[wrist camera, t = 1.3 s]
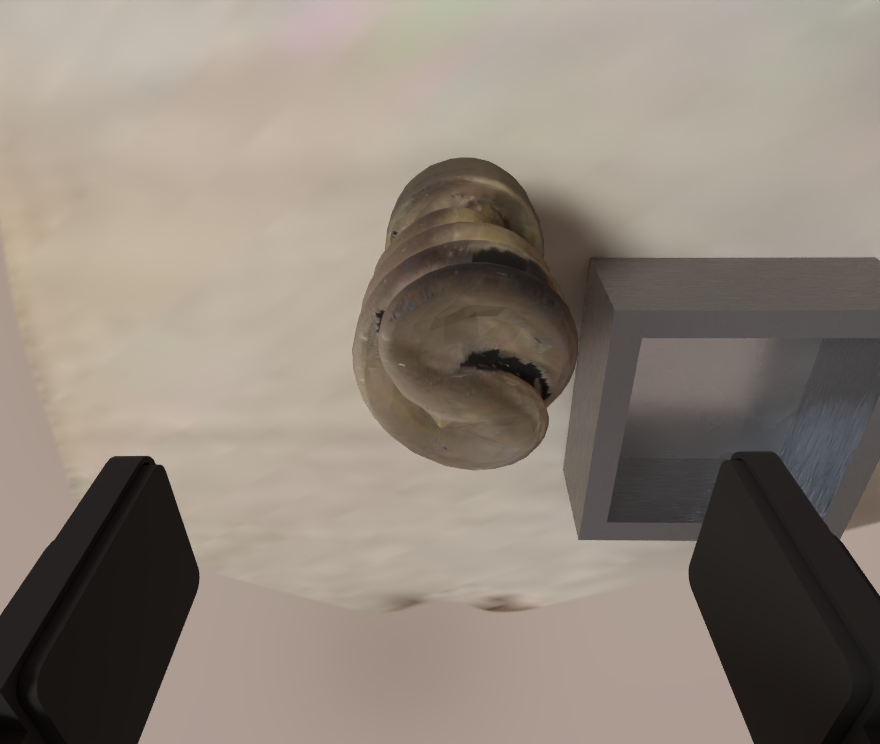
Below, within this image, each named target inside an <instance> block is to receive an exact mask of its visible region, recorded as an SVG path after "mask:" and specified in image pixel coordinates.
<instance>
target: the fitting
mask: <svg viewBox="0 0 880 744" xmlns="http://www.w3.org/2000/svg"><path fill="white" fill-rule="evenodd" d="M739 451H772V452H774V453H776V454H777V455H778V456H779V457H780V459H781V460H782V461H783V463H784V464H785V466H786V467H787V469H788V470H789V472H790V473H791V474H792V476H793V477H794V479H795V480H796V482H797V483H798V485H799V486H800V487H801V489H802V490H803V492H804V493H805V495H806V496H807V498H808V499H809V500H810V502H811V503H812V505H813V506H814V508H815V509H816V511H817V512H818V513H819V515H820V516H821V518H822V519H823V521H824V522H825V524H826V525H827V526H828V528H829V529H830V531H831V532H832V534H834V535H835V536H837V538H838V539H839V540H840V538H841V536H842V534H843V532H844V530H845V528H846V526H847V524H848V522H849V520H850V518H851V516H852V514H853V512H854V510H855V508H856V506H857V503H858V501H859V499H860V497H861V495H862V493H863V491H864V489H865V487H866V485H867V483H868V481H869V479H870V477H871V475H872V473H873V471H874V469H875V467H876V465H877V463H878V461H879V458H880V261H879V260H878V259H876V258H590V266H589V274H588V282H587V289H586V297H585V305H584V313H583V320H582V328H581V336H580V344H579V351H578V359H577V367H576V375H575V382H574V390H573V398H572V406H571V414H570V421H569V429H568V437H567V445H566V452H565V460H564V468H563V471H564V476H565V480H566V485H567V489H568V494H569V499H570V503H571V508H572V512H573V517H574V521H575V526H576V530H577V535H578V540H670V541H697V540H698V536H699V533H700V530H701V527H702V524H703V520H704V517H705V514H706V511H707V508H708V504H709V501H710V498H711V495H712V491H713V488H714V485H715V482H716V479H717V475H718V472H719V469H720V466H721V464H722V462H723V461H725V460H730V459H731V457H732V455H733V454H734V453H735V452H739Z"/></svg>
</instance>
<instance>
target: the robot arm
mask: <svg viewBox="0 0 880 744" xmlns="http://www.w3.org/2000/svg"><path fill="white" fill-rule="evenodd" d="M689 581H690V586H691V589H692V592H693V594H694V596H695V599H696V601H697V604H698V606H699V609H700V611H701V614H702V616H703V619H704V621H705V624H706V626H707V629H708V631H709V633H710V636H711V638H712V641H713V643H714V646H715V648H716V651H717V653H718V656H719V658H720V661H721V663H722V666H723V668H724V671H725V673H726V675H727V678H728V680H729V683H730V686H731V688H732V690H733V693H734V695H735V698H736V700H737V703H738V705H739V708H740V710H741V713H742V715H743V718H744V720H745V723H746V725H747V727H748V730H749V732H750V735H751V737H752V740H753V742H754V744H880V596H879V594H878V593H877V592H876V590H875V589H874V587H873V586H872V584H871V583H870V582H869V580H868V579H867V577H866V576H865V574H864V573H863V571H862V570H861V569H860V567H859V566H858V564H857V563H856V561H855V560H854V559H853V557H852V556H851V554H850V553H849V551H848V550H847V549H846V547H845V546H844V544H843V543H842V542H841V541H840V540H839V539H838V538H837V536H835V535H834V534H832V532H831V531H830V529H829V528H828V526H827V525H826V524H825V522H824V521H823V519H822V518H821V516H820V515H819V513H818V512H817V511H816V509H815V508H814V506H813V505H812V503H811V502H810V500H809V499H808V498H807V496H806V495H805V493H804V492H803V490H802V489H801V487H800V486H799V485H798V483H797V482H796V480H795V479H794V477H793V476H792V474H791V473H790V472H789V470H788V469H787V467H786V466H785V464H784V463H783V461H782V460H781V459H780V457H779V456H778V455H777V454H776V453H774V452H772V451H739V452H735V453H734V454H733V455H732V457H731V459H730V460H725V461H723V462H722V464H721V466H720V469H719V472H718V475H717V479H716V482H715V485H714V488H713V491H712V495H711V498H710V501H709V504H708V508H707V511H706V514H705V517H704V520H703V524H702V527H701V530H700V533H699V536H698V540H697V543H696V546H695V549H694V552H693V556H692V559H691V562H690V565H689ZM198 586H199V569H198V566H197V563H196V560H195V557H194V554H193V551H192V548H191V545H190V542H189V539H188V536H187V533H186V530H185V527H184V524H183V521H182V518H181V515H180V512H179V509H178V506H177V503H176V500H175V497H174V494H173V491H172V488H171V485H170V482H169V479H168V476H167V473H166V471H165V468H164V467H163V466H162V465H156V464H155V462H154V460H153V459H152V458H151V457H149V456H115V457H112V458H110V459H109V461H108V462H107V463H106V464H105V466H104V467H103V469H102V470H101V472H100V473H99V475H98V476H97V478H96V479H95V481H94V482H93V484H92V485H91V487H90V488H89V490H88V491H87V492H86V494H85V495H84V497H83V498H82V500H81V501H80V503H79V504H78V506H77V507H76V509H75V510H74V512H73V513H72V515H71V516H70V518H69V519H68V521H67V522H66V524H65V525H64V527H63V528H62V530H61V531H60V533H59V534H58V536H57V537H56V539H55V540H54V541H52V542H51V543H50V545H49V546H48V547H47V548H46V549H45V551H44V552H43V553H42V555H41V557H40V558H39V559H38V561H37V562H36V564H35V565H34V567H33V568H32V570H31V572H30V573H29V574H28V576H27V577H26V579H25V580H24V581H23V583H22V584H21V586H20V587H19V589H18V591H17V592H16V593H15V595H14V596H13V598H12V599H11V601H10V602H9V604H8V605H7V606H6V608H5V609H4V611H3V612H2V614H1V615H0V744H138V741H139V739H140V737H141V734H142V731H143V729H144V726H145V724H146V721H147V719H148V716H149V713H150V711H151V708H152V706H153V703H154V701H155V698H156V696H157V693H158V690H159V688H160V685H161V683H162V680H163V678H164V675H165V672H166V670H167V667H168V665H169V662H170V660H171V657H172V655H173V652H174V649H175V647H176V644H177V641H178V639H179V637H180V634H181V631H182V628H183V626H184V624H185V621H186V618H187V616H188V614H189V611H190V608H191V606H192V603H193V601H194V598H195V596H196V593H197V590H198Z"/></svg>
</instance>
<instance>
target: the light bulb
mask: <svg viewBox="0 0 880 744" xmlns="http://www.w3.org/2000/svg"><path fill="white" fill-rule="evenodd" d="M543 256H544V239H543V235H542V231H541V226H540V222H539V220H538V217H537V215H536V213H535V210H534V208H533V206H532V204H531V202H530V201H529V198H528V196H527V194H526V192H525V190H524V189H523V188H522V187H521V185H520V184H519V183H518V182H517V180H516V179H515V178H514V177H513V176H511V175H510V174H509V173H508V172H506V171H505V170H503V169H502V168H500V167H498V166H497V165H495V164H493V163H491V162H489V161H485V160H481V159H476V158H455V159H449V160H446V161H443V162H440V163H437V164H434V165H431V166H429V167H428V168H427V169H425V170H424V171H422V172H421V173H419V174H418V175H417V176H416V177H414V178H413V179H412V180H411V181H410V182H409V183H408V184H407V185H406V187H405V188H404V190H403V191H402V193H401V195H400V196H399V198H398V200H397V202H396V205H395V207H394V210H393V212H392V214H391V218H390V221H389V225H388V229H387V237H386V244H385V251H384V253H383V254H382V255H381V257H380V259H379V261H378V263H377V265H376V268H375V272H374V276H373V278H372V279H371V281H370V283H369V285H368V288H367V291H366V294H365V296H364V299H363V303H362V309H361V313H360V316H359V319H358V323H357V328H356V332H355V338H354V343H353V348H352V354H353V369H354V373H355V377H356V381H357V384H358V387H359V390H360V393H361V395H362V398H363V400H364V402H365V404H366V405H367V407H368V408H369V410H370V412H371V413H372V415H373V416H374V418H375V419H376V420H377V421H378V422H379V424H380V425H381V426H382V427H383V428H384V429H385V430H386V431H387V432H388V433H389V434H390V435H391V436H392V437H393V438H395V439H396V440H397V441H399V442H400V443H401V444H403V445H404V446H405V447H407V448H408V449H409V450H411V451H412V452H414V453H416V454H418V455H420V456H423V457H425V458H427V459H430V460H432V461H435V462H437V463H440V464H442V465H445V466H450V467H455V468H460V469H469V470H485V469H495V468H499V467H503V466H507V465H511V464H514V463H516V462H518V461H519V460H521V459H523V458H525V457H527V456H528V455H529V454H530V453H531V452H532V451H533V450H534V449H535V448H536V447H537V446H538V445H539V444H540V443H541V441H542V440H543V438H544V437H545V434H546V431H547V428H548V425H549V417H548V412H547V407H548V406H549V405H550V404H551V403H552V402H553V401H554V400H555V399H556V398H557V397H558V396H559V395H560V394H561V393H562V391H563V390H564V388H565V387H566V385H567V384H568V383H569V381H570V378H571V376H572V374H573V371H574V369H575V364H576V360H577V356H578V340H579V338H578V334H577V330H576V325H575V322H574V319H573V317H572V315H571V313H570V310H569V308H568V307H567V305H566V304H565V302H564V300H563V297H562V294H561V291H560V289H559V287H558V285H557V283H556V281H555V279H554V278H553V277H552V275H551V274H550V272H549V269H548V266H547V265H546V263H545V261H544V260H543Z"/></svg>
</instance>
